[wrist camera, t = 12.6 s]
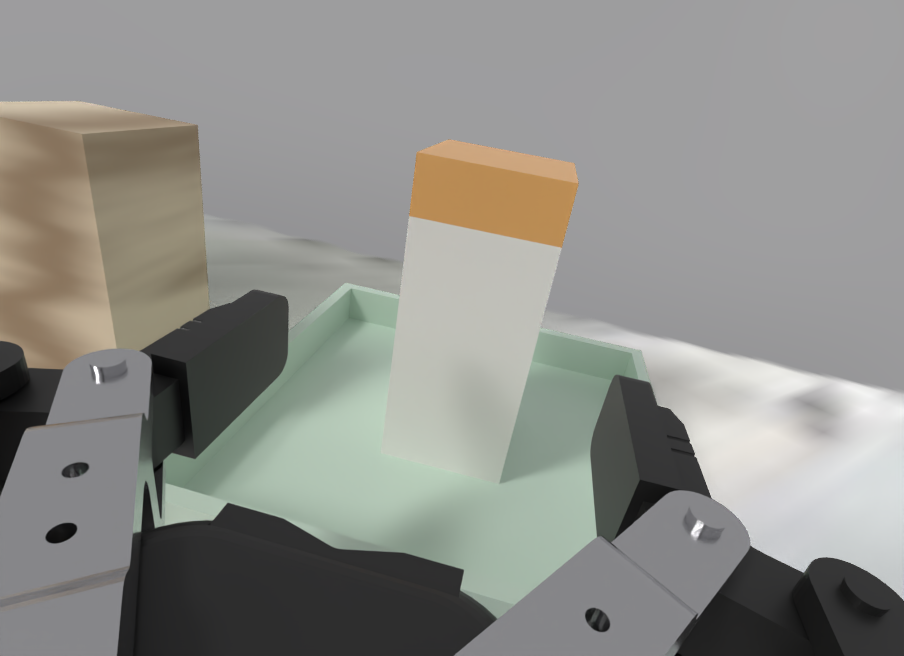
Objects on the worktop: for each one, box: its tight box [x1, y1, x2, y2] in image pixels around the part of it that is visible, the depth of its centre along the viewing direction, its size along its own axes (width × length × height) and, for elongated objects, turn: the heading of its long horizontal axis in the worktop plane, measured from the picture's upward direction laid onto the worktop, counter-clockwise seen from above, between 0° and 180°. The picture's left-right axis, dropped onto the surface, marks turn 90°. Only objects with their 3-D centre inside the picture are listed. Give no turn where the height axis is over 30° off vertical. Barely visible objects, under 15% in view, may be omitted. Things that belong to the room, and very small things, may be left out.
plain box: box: [0, 101, 210, 369], centre depth 19 cm, size 5×5×12 cm
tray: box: [164, 283, 656, 619], centre depth 22 cm, size 18×18×3 cm
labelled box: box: [381, 140, 579, 484], centre depth 20 cm, size 5×5×12 cm
